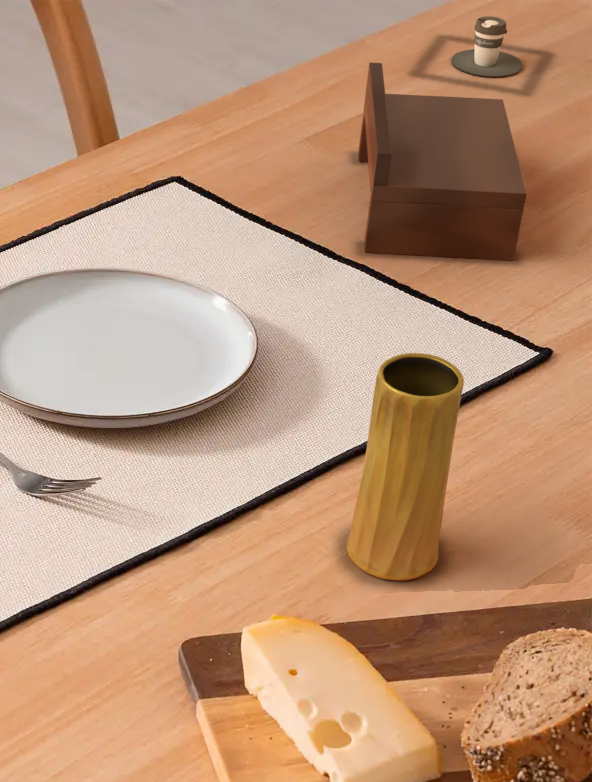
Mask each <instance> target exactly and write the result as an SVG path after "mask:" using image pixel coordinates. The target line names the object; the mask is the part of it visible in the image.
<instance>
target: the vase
mask: <svg viewBox="0 0 592 782" xmlns="http://www.w3.org/2000/svg"><path fill="white" fill-rule="evenodd" d="M374 383H375V384H374V391H373V398H372V405H371V413H370V422H369V427H368V435H367V443H366V450H365V456H364V462H363V469H362V475H361V480H360V482H359V483H360V484H359V488H358V492H357V497H356V502H355V506H354V510H353V515H352V522H351V527H350V531H349V534H348V538H347V541H346V551H347V554H348V556H349V558H350V560H351V561H352V562H353V564H355V566H357V567H358V568H359V569H361V570H362V571H363V572H365V573H367V574H368V575H371V576H374V577H376V578H379V579H382V580H388V581H389V580H390V581H410V580H414V579H417V578H420V577H422V576H425V575H426V574H428V573H429V572H431V571H432V570H433V569H434V568H435V566H436V565H437V563H438V560H439V558H440V557H439V556H440V555H439V554H440V553H439V543H440V536H441V531H442V523H443V516H444V507H445V498H446V492H447V486H448V480H449V473H450V467H451V461H452V455H453V454H452V453H453V449H454V448H453V447H454V441H455V434H456V429H457V424H458V416H459V412H460V411H459V410H460V406H461V401H462V394H463V390H464V384H465V378H464V376H463V374H462V372H461V370H459V368H458V367H457V366H455V365H454V364H453V363H451V362H450V361H448V360H446V359H445V358H443V357H440V356H436V355H433V354H429V353H422V352H421V353H420V352H419V353H418V352H407V353H406V352H405V353H401V354H396V355H395V356H392V357H391V358H388V359H386V360H385V361H383V363H382V364H381V365H380V367H379V368H378V371H377V373H376V378H375V382H374Z"/></svg>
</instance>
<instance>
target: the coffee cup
mask: <svg viewBox="0 0 592 782" xmlns="http://www.w3.org/2000/svg"><path fill="white" fill-rule="evenodd" d="M474 31H475V32H474V37H473V43H474V48H471V49H465V50H461V51H458V52H456V53H455V54H453V56H452V57H451V59H450V61H451V65H452V66H453V67H454V68H456V70H458V71H461V72H463V73H466V74H469V75H474V76H478V77H484V78H503V77H509V76H513V75H515V74H518V73H519V72H520V71H521V70H522V69H523V67H524V65H523V62H522V61H521V59H520V58H518V57H516V56H515V55H513V54H511V53H509V52H505V51H502V50H501V48H502V44H503V41H504V37H505V34H507V33H508V29H507V21H506V20H505V19H503V18H501V17H498V16H491V15H490V16H488V15H487V16H486V15H485V16H481V17H479V18H477V19H476V21H475V25H474Z"/></svg>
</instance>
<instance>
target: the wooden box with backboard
mask: <svg viewBox="0 0 592 782" xmlns="http://www.w3.org/2000/svg"><path fill="white" fill-rule="evenodd" d="M383 69H384V68H383V63H382V62H369V64H368V70H367V79H366V87H365V95H364V96H365V97H364V104H363V111H362V118H361V126H360V127H361V128H360V135H359V144H358V151H357V159H358V162H359V163H360V162H362V163H367V165H368V176H369V190H370V195H369V201H368V202H369V204H368V210H367V217H366V218H367V219H366V226H365V234H364V241H363V249H364V250H363V251H364V253H369V254H388V255H401V256H402V255H403V256H405V255H406V256H421V257H437V258H438V257H439V258H457V259H474V260H475V259H476V260H490V261H491V260H492V261H493V260H494V261H508V262H509V261H510V262H513V261H515V260H514V259H515V255H516V251H517V244H518V239H519V235H520V229H521V225H522V220H523V214H524V209H525V204H526V200H527V190H526V186H525V183H524V177H523V174H522V170H521V166H520V162H519V158H518V154H517V151H516V147H515V143H514V139H513V133H512V130H511V127H510V123H509V122H510V121H509V118H508V114H507V110H506V107H505V103H504V99H503V98H484V97H483V98H482V97H465V96H464V97H463V96H445V95H443V96H442V95H440V96H439V95H422V94H403V93H402V94H401V93H386V88H385V79H384V78H385V77H384V70H383Z"/></svg>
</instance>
